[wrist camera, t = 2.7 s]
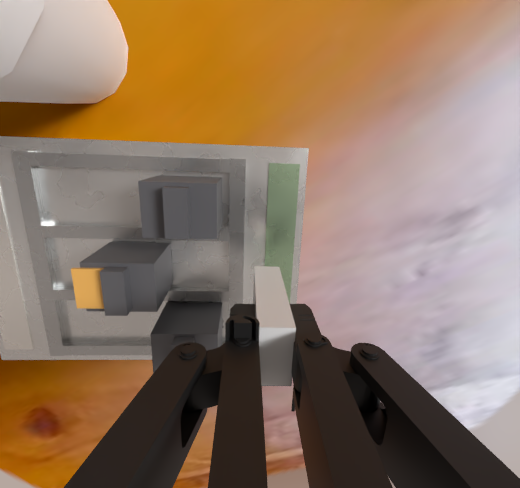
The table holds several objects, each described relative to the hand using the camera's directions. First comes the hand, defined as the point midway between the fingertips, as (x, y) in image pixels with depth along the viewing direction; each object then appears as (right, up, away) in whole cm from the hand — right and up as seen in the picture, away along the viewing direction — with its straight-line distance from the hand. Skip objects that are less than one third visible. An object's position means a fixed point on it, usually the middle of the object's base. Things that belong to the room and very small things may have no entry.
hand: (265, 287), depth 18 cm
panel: (-9, +2, +4) cm, 10 cm away
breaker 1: (-9, +1, +3) cm, 9 cm away
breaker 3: (-5, -3, +4) cm, 7 cm away
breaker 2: (-5, +6, +2) cm, 8 cm away
